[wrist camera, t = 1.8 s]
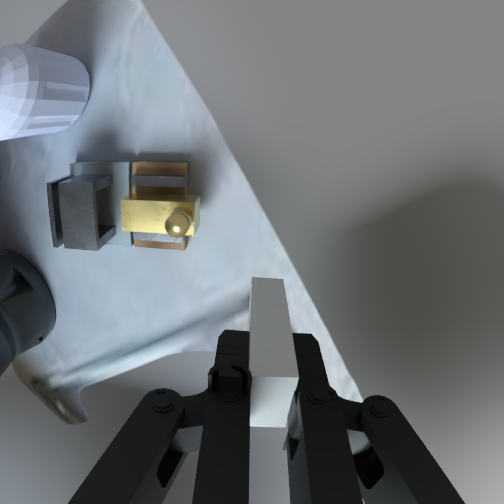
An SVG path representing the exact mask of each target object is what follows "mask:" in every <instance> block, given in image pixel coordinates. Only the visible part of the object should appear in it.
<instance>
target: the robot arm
mask: <svg viewBox="0 0 504 504" xmlns="http://www.w3.org/2000/svg"><path fill="white" fill-rule="evenodd" d="M55 320H56V313H55V307H54V302H53V299H52V296H51V294H50V291H49V289H48V287H47V285H46V283H45V282H44V280H43V278H42V277H41V275H40V274H39V273H38V271H37V270H36V269H35V268H34V267H33V266H32V264H31V263H30V262H28V261H27V260H26V259H25V258H24V257H22V256H21V255H19V254H18V253H16V252H13V251H10V250H0V377H1V376H2V374H3V373H4V371H5V370H6V369H7V367H8V366H9V365H10V363H11V362H12V361H13V359H14V358H15V357H16V356H17V355H19V354H21V353H23V352H25V351H26V350H28V349H30V348H32V347H34V346H36V345H38V344H40V343H41V342H43V341H44V340H45V339H46V338H47V336H48V335H49V334H50V333H51V331H52V330H53V328H54V325H55ZM287 420H288V433H287V436H286V440H285V443H284V447H283V450H286V448H287V457H288V458H287V459H288V473H289V487H290V503H291V504H363V501H362V498H363V500H364V502H365V504H465V503H464V501H463V500H462V498H461V497H460V496H459V494H458V493H457V491H456V490H455V488H454V487H453V485H452V484H451V482H450V481H449V479H448V478H447V476H446V475H445V474H444V472H443V471H442V469H441V468H440V466H439V465H438V463H437V462H436V461H435V459H434V458H433V456H432V455H431V453H430V452H429V451H428V449H427V448H426V446H425V445H424V443H423V442H422V441H421V439H420V438H419V436H418V435H417V434H416V432H415V431H414V429H413V428H412V427H411V425H410V424H409V422H408V421H407V420H406V418H405V417H404V415H403V414H402V413H401V411H400V410H399V408H398V407H397V406H396V404H394V402H393V401H392V400H390V399H389V398H387V397H385V396H380V395H375V396H370V397H368V398H366V399H365V400H364V401H363V402H362V403H359V402H354V401H350V400H346V399H343V398H341V397H339V396H338V395H337V393H336V391H335V390H334V389H333V388H331V387H330V386H329V382H328V378H327V374H326V370H325V366H324V362H323V359H322V354H321V352H320V347H319V343H318V341H317V340H316V339H315V337H314V336H313V335H312V334H304V333H292V330H291V323H290V317H289V311H288V305H287V299H286V293H285V287H284V281H283V279H273V278H259V277H252V282H251V293H250V305H249V316H248V331H237V330H224V331H223V333H222V334H221V335H220V336H219V338H218V344H217V351H216V357H215V364H214V366H213V367H212V368H211V369H210V371H209V373H208V388H207V389H206V390H205V391H204V392H202V393H199V394H197V395H193V396H185V397H181V396H180V395H179V393H177V392H175V391H173V390H170V389H164V388H162V389H155V390H153V391H150V392H149V393H148V394H147V395H145V396H144V397H143V399H142V400H141V402H140V403H139V404H138V406H137V407H136V409H135V410H134V411H133V413H132V414H131V416H130V417H129V418H128V420H127V421H126V423H125V424H124V425H123V427H122V428H121V430H120V431H119V432H118V434H117V435H116V437H115V438H114V439H113V441H112V442H111V444H110V445H109V447H108V448H107V449H106V451H105V452H104V453H103V455H102V456H101V458H100V459H99V460H98V462H97V463H96V465H95V466H94V467H93V469H92V470H91V472H90V473H89V475H88V476H87V477H86V479H85V480H84V482H83V483H82V484H81V486H80V487H79V489H78V490H77V491H76V493H75V494H74V496H73V497H72V498H71V500H70V501H69V503H68V504H162V503H163V501H164V499H165V497H166V495H167V493H168V491H169V489H170V487H171V486H172V484H173V482H174V479H175V478H176V476H177V474H178V472H179V470H180V468H181V466H182V464H183V462H184V460H185V458H186V456H187V454H188V452H190V451H197V450H199V458H198V464H197V472H196V479H195V486H194V494H193V501H192V504H249V449H250V426H256V427H286V423H287Z"/></svg>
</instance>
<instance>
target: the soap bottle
mask: <svg viewBox="0 0 504 504" xmlns="http://www.w3.org/2000/svg"><path fill="white" fill-rule="evenodd" d="M89 92H90V80H89V74H88V72H87V70H86V68H85V66H84V64H83V63H82V62H80V61H79V60H78V59H77V58H75V57H71V56H68V55H64V54H61V53H57V52H53V51H50V50H46V49H42V48H38V47H34V46H29V45H25V44H12V45H9V46H7V47H5V48H2V49H0V141H2V140H7V139H13V138H19V137H25V136H32V135H39V134H47V133H55V132H61V131H63V130H65V129H66V128H68V127H70V126H71V125H72V124H73V123H74V122H75V121H76V120H77V119H78V118H79V116H80V115H81V114H82V112H83V110H84V108H85V106H86V104H87V101H88V96H89Z"/></svg>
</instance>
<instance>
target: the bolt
mask: <svg viewBox="0 0 504 504" xmlns="http://www.w3.org/2000/svg"><path fill="white" fill-rule="evenodd" d="M121 220H122V231H132V232H147V233H162V234H169V235H170V236H171V237H174V238H181V237H183V236H184V235H192V236H194V235H195V233H196V231H197V229H198V227H199V222H200V196H198V195H179V194H156V193H131V194H129V195H128V196H126V197H124V198H123V199H121Z"/></svg>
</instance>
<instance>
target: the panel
mask: <svg viewBox="0 0 504 504" xmlns="http://www.w3.org/2000/svg"><path fill="white" fill-rule="evenodd" d="M188 167H189V162H174V161H101V162H75V163H72V164H70V175H75V176H78V175H81V174H113V184H111V185H109V186H107V187H105V188H103V189H101V190H99V191H96V206H97V221H98V225H107V226H115V231H116V235H115V236H114V237H113V238H111V239H110V240H109V241H108V242H107V243H106V244H109V245H121V246H132V245H133V244H135V247H147V248H160V249H173V250H185V249H186V247H187V235H185V240H184V241H183V243H175V242H161V241H148V240H134V239H133V232H132V231H122V220H121V199H123V198H124V197H126V196H128V195H129V194H131V193H156V194H179V195H188ZM134 174H154V175H186V183H185V186H184V187H158V186H131V176H132V175H134Z"/></svg>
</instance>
